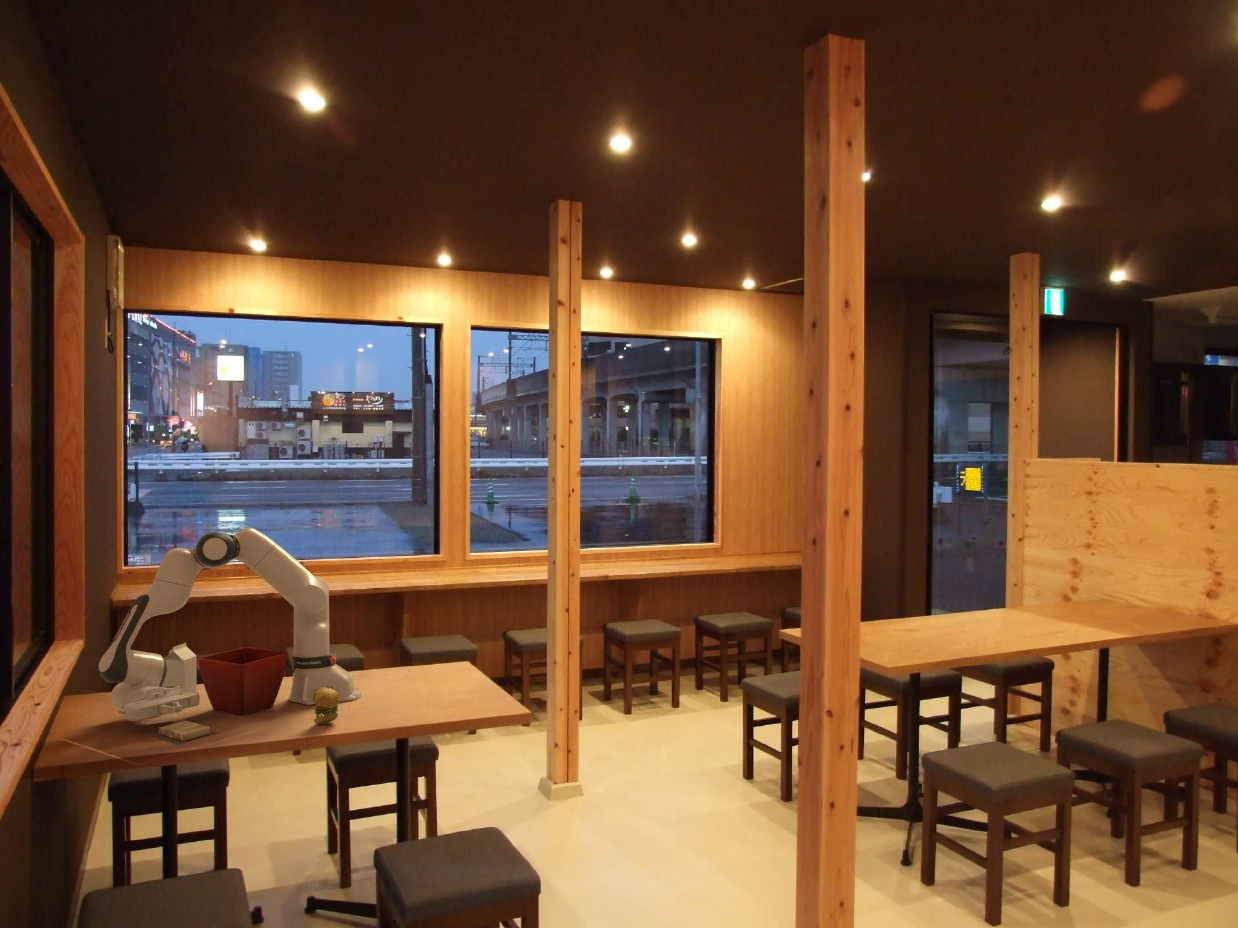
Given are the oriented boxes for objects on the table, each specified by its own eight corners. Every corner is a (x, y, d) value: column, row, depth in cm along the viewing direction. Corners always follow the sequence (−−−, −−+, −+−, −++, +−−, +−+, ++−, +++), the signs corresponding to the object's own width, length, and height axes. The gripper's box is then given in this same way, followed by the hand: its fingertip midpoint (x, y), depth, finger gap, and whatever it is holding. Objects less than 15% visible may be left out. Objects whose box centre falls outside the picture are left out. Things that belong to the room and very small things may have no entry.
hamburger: (330, 719, 273) (330, 679, 273) (344, 723, 268) (344, 682, 268) (307, 725, 267) (307, 684, 267) (321, 729, 262) (321, 688, 262)
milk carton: (196, 702, 292) (196, 642, 292) (184, 708, 285) (183, 647, 285) (175, 701, 293) (175, 642, 293) (162, 707, 286) (162, 647, 286)
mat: (145, 736, 257) (145, 734, 257) (185, 725, 267) (185, 724, 267) (177, 745, 248) (177, 744, 248) (218, 734, 258) (218, 732, 258)
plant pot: (290, 704, 289) (290, 651, 289) (242, 720, 272) (242, 664, 272) (246, 697, 297) (245, 646, 297) (196, 713, 280) (196, 658, 280)
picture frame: (158, 727, 257) (183, 734, 250) (185, 720, 264) (210, 726, 257) (158, 734, 257) (183, 741, 250) (185, 727, 264) (210, 734, 257)
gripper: (114, 699, 258) (141, 706, 250) (183, 684, 275) (210, 690, 267) (114, 721, 258) (141, 729, 250) (183, 705, 275) (210, 712, 267)
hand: (177, 709), depth 259 cm, fingers closed
